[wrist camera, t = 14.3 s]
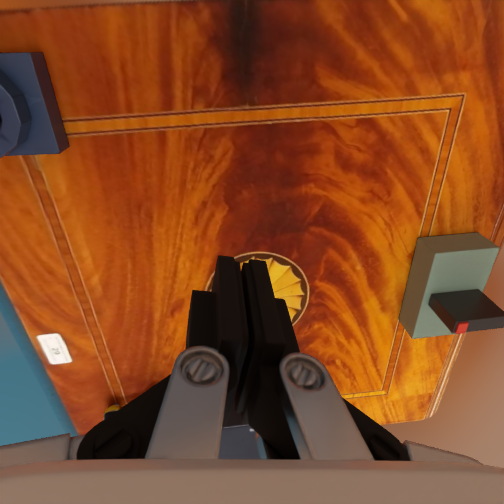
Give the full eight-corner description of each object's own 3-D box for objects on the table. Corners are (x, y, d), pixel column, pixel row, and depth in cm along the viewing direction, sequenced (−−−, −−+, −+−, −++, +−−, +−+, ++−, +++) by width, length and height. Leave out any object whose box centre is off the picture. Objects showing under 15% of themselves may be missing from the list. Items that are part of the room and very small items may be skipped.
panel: (417, 237, 38) (435, 253, 35) (477, 231, 38) (500, 247, 35) (398, 319, 44) (411, 339, 41) (450, 313, 45) (467, 332, 42)
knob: (478, 288, 38) (510, 317, 34) (474, 300, 39) (505, 329, 35) (431, 293, 38) (457, 323, 34) (427, 305, 38) (453, 335, 34)
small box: (200, 352, 43) (197, 431, 34) (251, 345, 44) (261, 422, 35) (211, 404, 49) (212, 484, 40) (257, 397, 49) (267, 476, 40)
